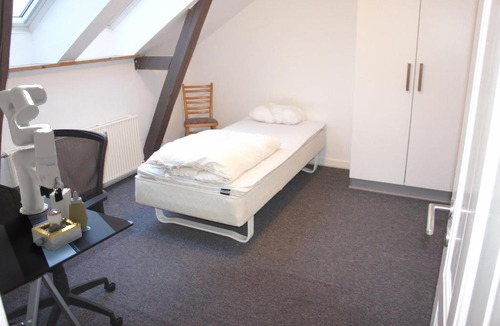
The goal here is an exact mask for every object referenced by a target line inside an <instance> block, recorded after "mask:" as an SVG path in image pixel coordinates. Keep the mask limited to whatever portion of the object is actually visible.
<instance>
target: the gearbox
mask: <svg viewBox="0 0 500 326" xmlns="http://www.w3.org/2000/svg"><path fill="white" fill-rule="evenodd" d="M63 218H65V217H62V219H63ZM66 219H67V218H66ZM31 232H32V233H31V235H32V238H33V243H35V245H36V246H37V247H43V248H44V249H45V248H46V249H48V250H50V251H55V250H57V249H60V248H62V247H64V246H66V245H68V244H69V243H72V242H74V241H76V240H79V239H81V238H83V235H82V230H81V225H80V223H78V222H75V221H72V220H70V219H67V221H64V222H63V229H61V230H59V231H54V232H53V231H50V230H49V224H48V221H47V222H44V223H42V224H39V225H36V226H34V227H32V228H31Z"/></svg>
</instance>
